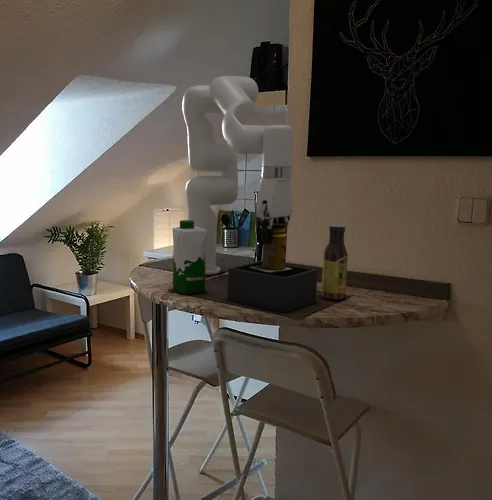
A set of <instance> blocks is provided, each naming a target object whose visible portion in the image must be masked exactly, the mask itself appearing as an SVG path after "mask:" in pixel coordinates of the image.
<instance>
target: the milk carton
mask: <svg viewBox="0 0 492 500" xmlns="http://www.w3.org/2000/svg"><path fill="white" fill-rule="evenodd" d="M207 234H208V230H205V229H203V228H198V227H194V221H192V220H188V219H184V220H183V219H182V220H181V219H180V220H179V227H178V226H177V227H172V241H173V242H172V244H173V245H172V248H173V249H172V257H173V258H172V290H174V291H176V292H178V293H180V294H181V295H194V294H203V293H206V275H205V261H206V240H207Z"/></svg>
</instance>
